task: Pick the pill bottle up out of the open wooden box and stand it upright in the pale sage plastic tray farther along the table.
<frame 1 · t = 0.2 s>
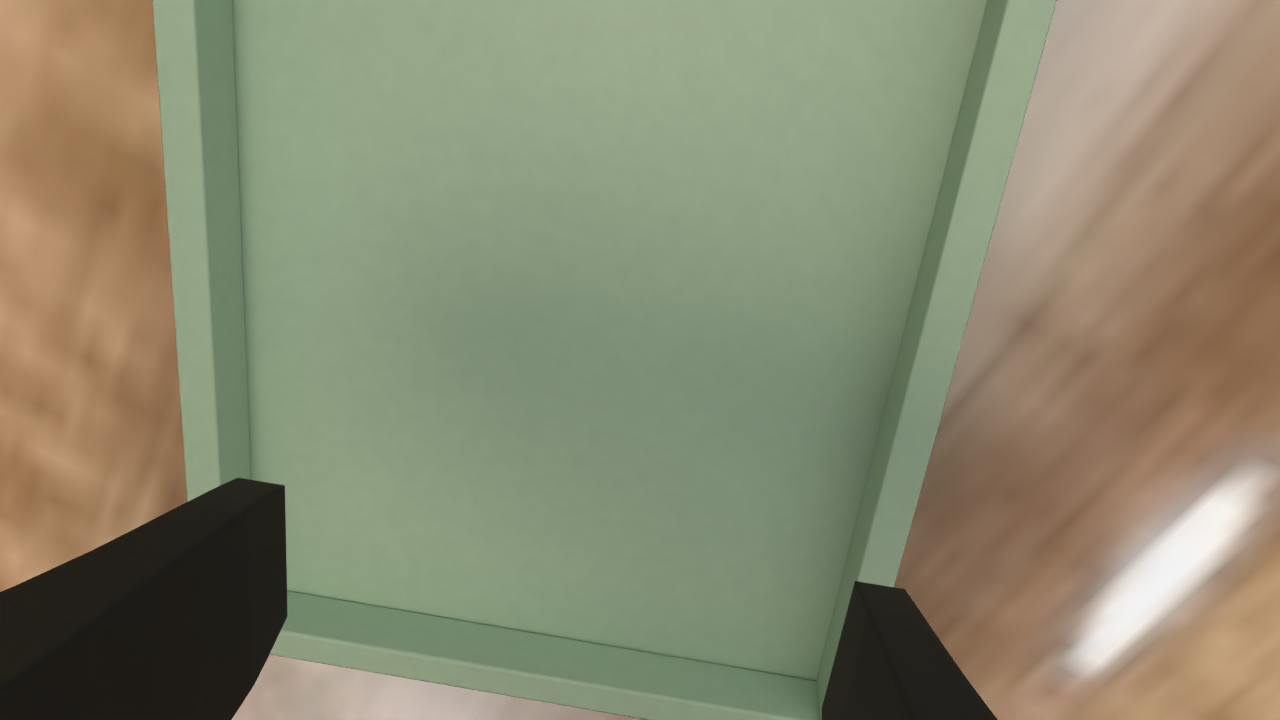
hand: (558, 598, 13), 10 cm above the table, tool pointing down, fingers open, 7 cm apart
tray: (570, 281, 22), on the table
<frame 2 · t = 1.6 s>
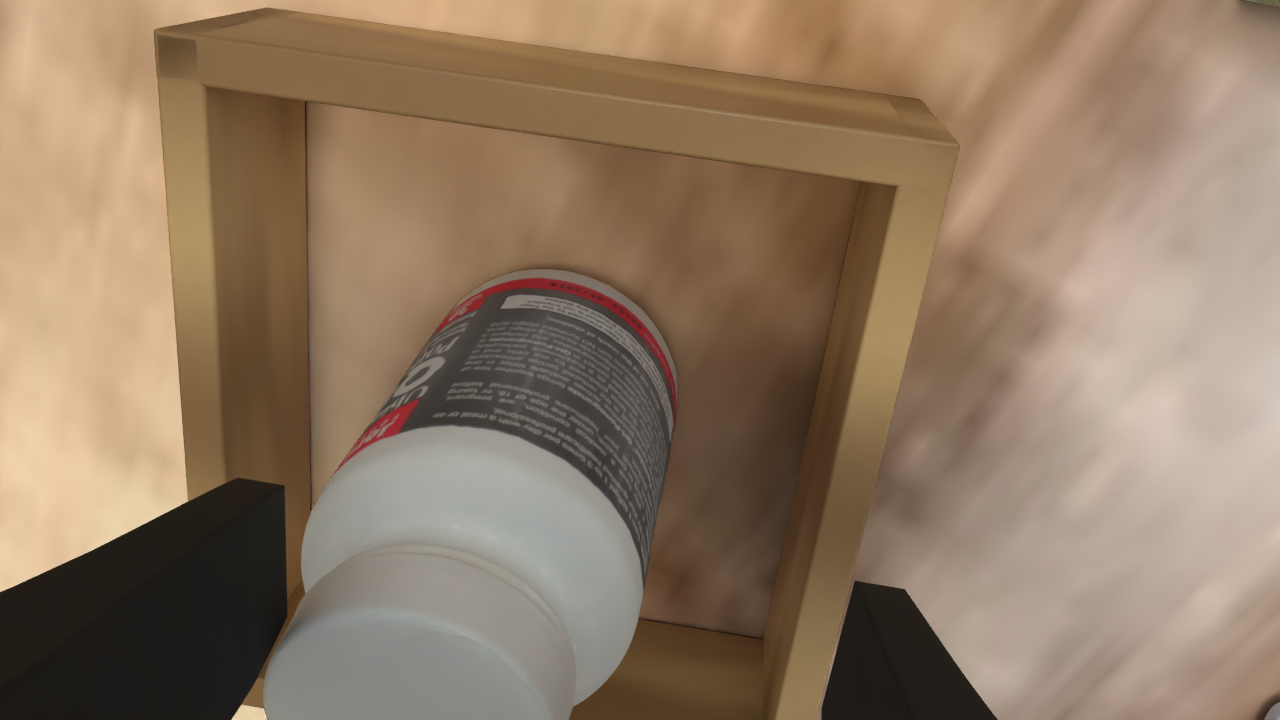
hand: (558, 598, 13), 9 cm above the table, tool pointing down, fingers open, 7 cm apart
open wooden box: (557, 376, 22), on the table
pill bottle: (557, 374, 22), resting in open wooden box
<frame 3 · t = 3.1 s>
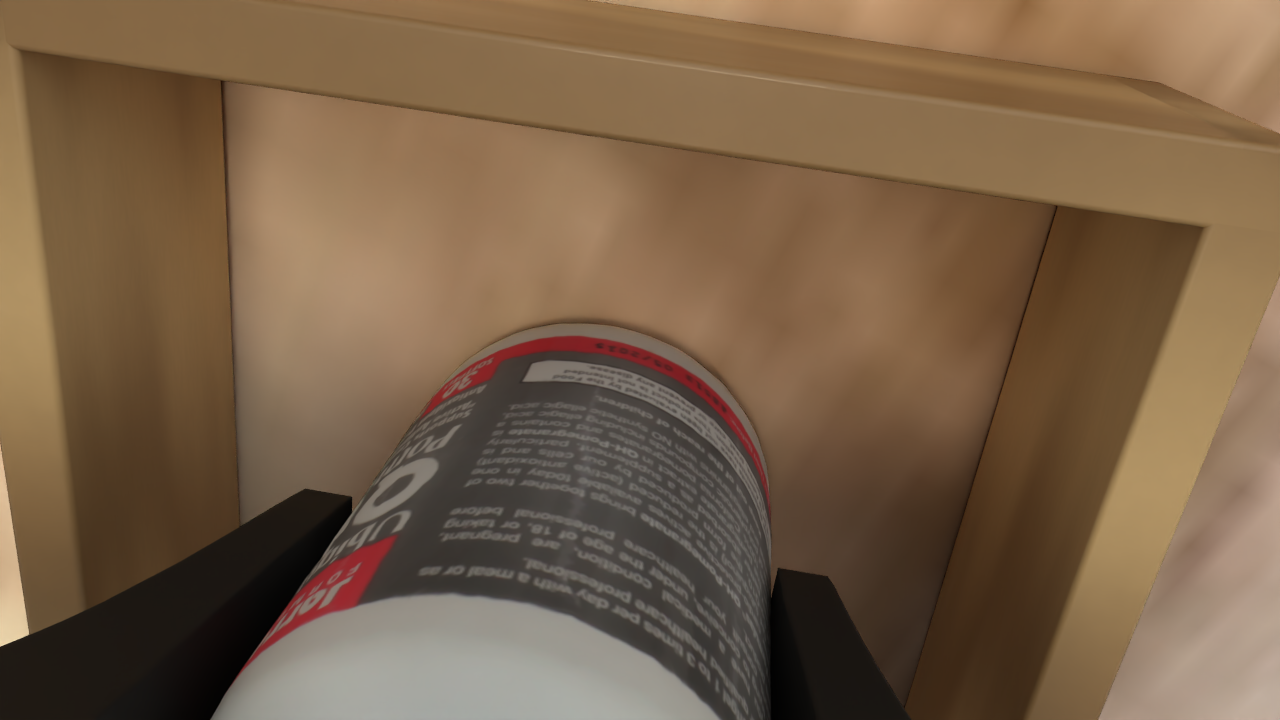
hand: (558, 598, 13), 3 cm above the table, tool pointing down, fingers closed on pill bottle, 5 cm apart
open wooden box: (590, 478, 15), on the table
pill bottle: (593, 473, 16), resting in open wooden box, touching gripper
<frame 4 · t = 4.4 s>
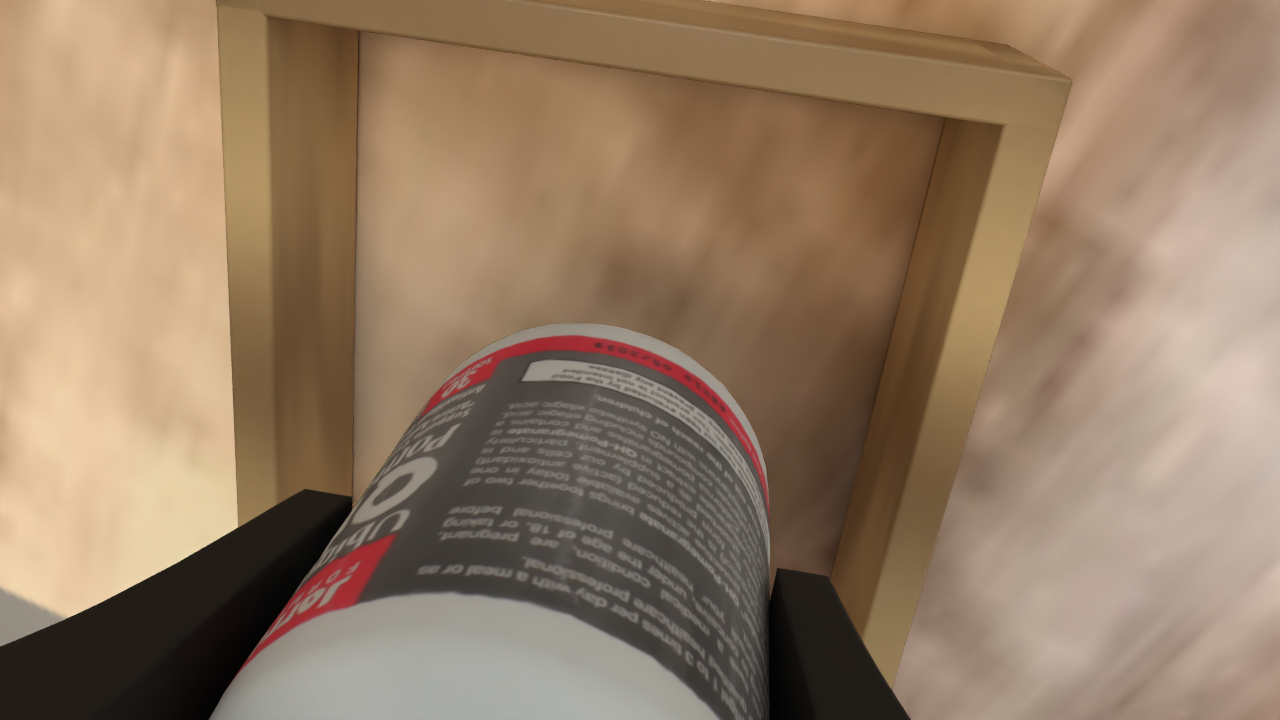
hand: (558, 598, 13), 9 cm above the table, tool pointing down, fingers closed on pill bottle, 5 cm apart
open wooden box: (615, 338, 21), on the table
pill bottle: (592, 472, 16), point 6 cm above the table, touching gripper
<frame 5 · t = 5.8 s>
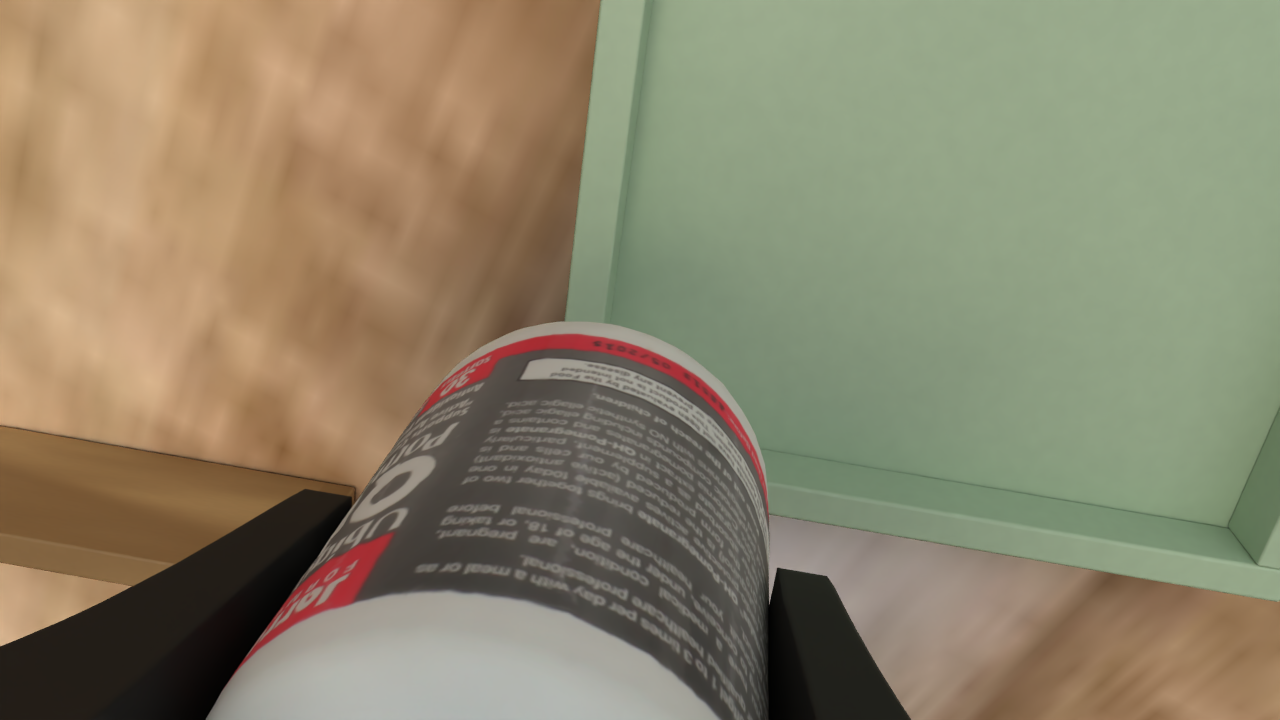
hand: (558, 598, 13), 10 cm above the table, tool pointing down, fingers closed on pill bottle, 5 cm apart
open wooden box: (126, 658, 28), on the table
pill bottle: (591, 471, 16), point 7 cm above the table, touching gripper
tray: (1018, 53, 19), on the table
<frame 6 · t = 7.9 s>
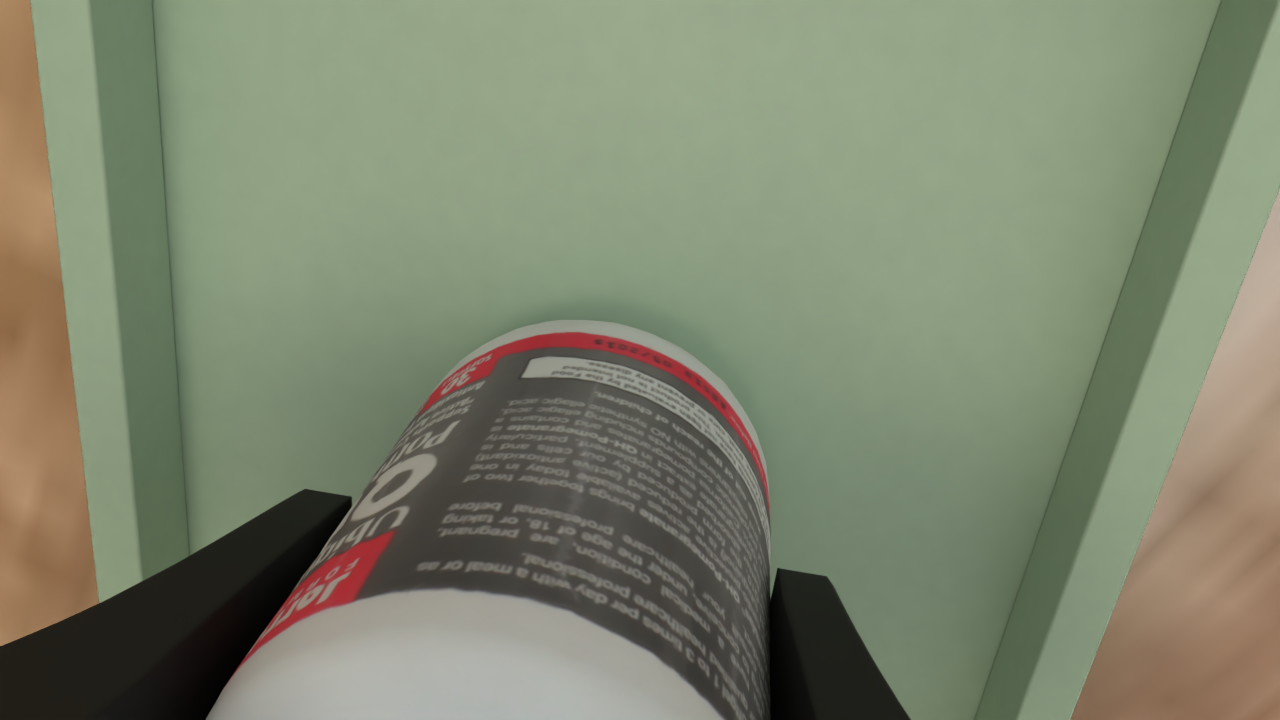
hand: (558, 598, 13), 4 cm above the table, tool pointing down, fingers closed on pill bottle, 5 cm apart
pill bottle: (592, 470, 16), point 1 cm above the table, touching gripper
tray: (606, 433, 17), on the table
when the fingers open (3 cm above the table, at t = 8.7 s): pill bottle stays where it is, resting on tray.
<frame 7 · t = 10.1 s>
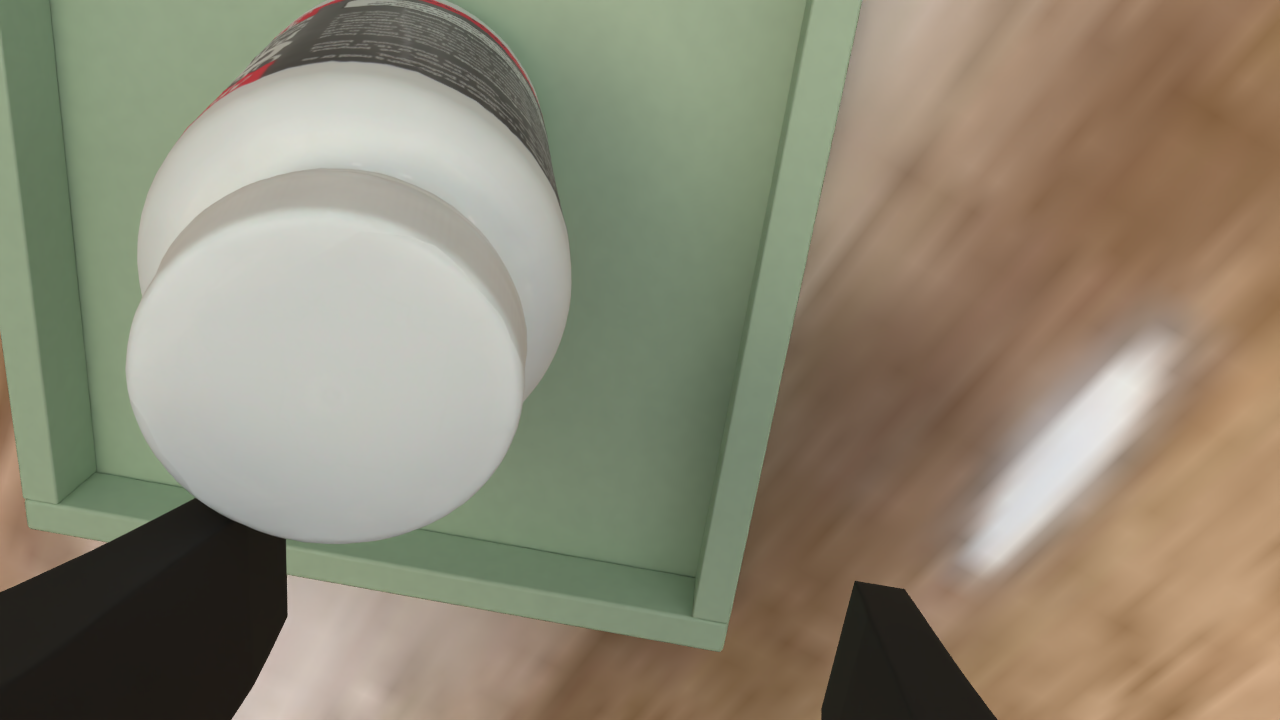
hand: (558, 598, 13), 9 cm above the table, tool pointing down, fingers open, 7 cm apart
pill bottle: (400, 134, 19), point 1 cm above the table, touching tray
tray: (416, 127, 20), on the table
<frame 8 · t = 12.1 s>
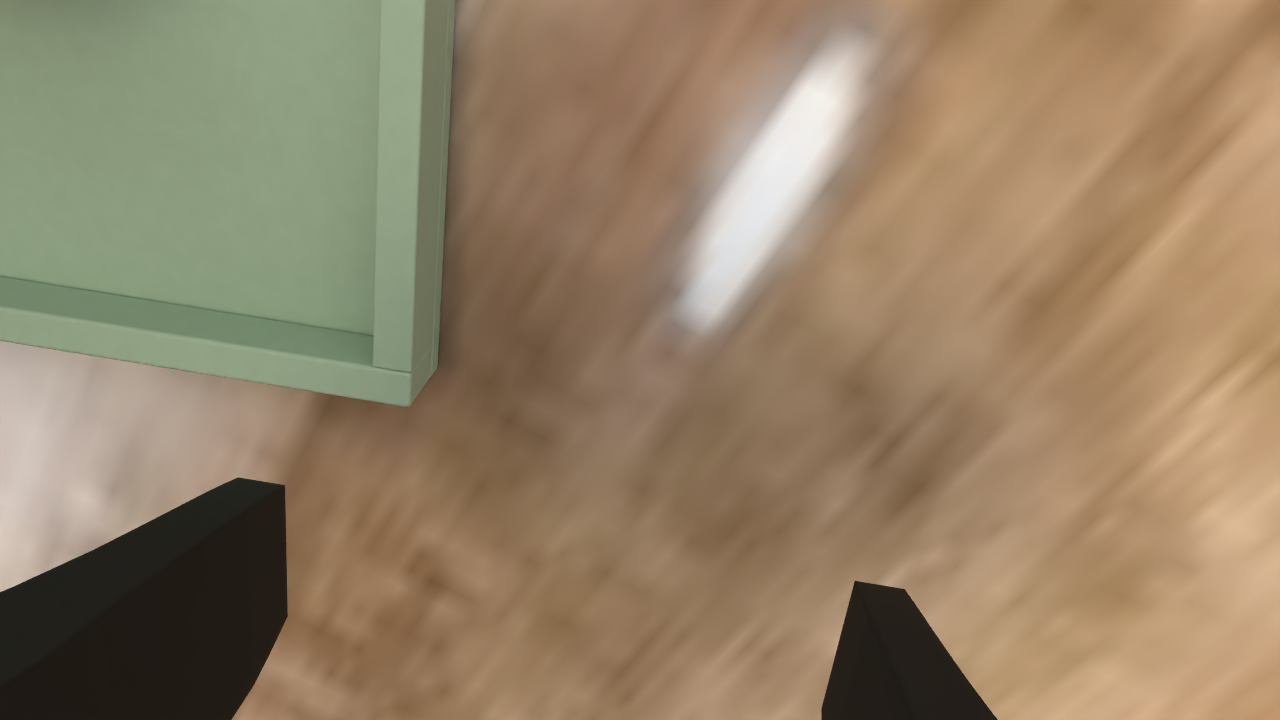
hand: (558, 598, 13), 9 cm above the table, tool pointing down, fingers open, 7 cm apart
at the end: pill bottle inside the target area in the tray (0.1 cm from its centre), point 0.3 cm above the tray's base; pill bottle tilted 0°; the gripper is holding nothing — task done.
